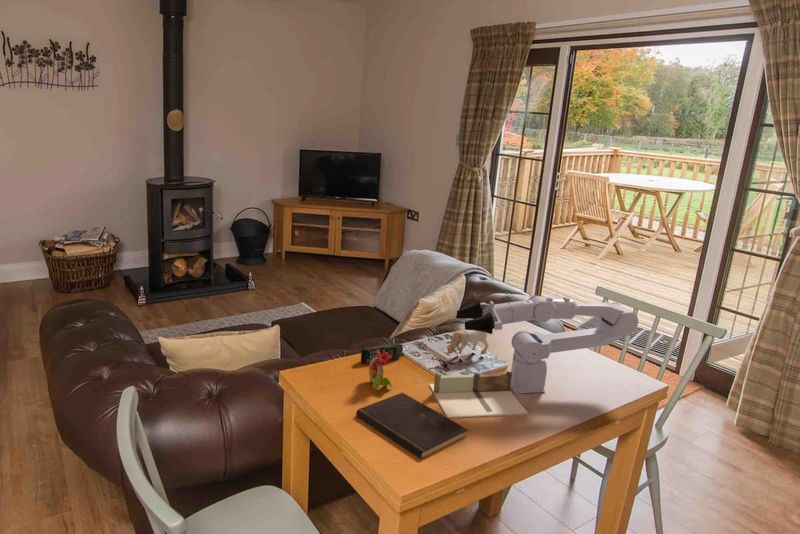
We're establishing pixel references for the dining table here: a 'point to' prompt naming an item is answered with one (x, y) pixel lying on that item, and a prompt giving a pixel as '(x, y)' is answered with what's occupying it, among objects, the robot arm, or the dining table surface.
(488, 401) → the card
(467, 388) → the fence panel
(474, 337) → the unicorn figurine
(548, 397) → the dining table surface
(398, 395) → the hardcover book
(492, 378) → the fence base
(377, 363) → the bird rattle
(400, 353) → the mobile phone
